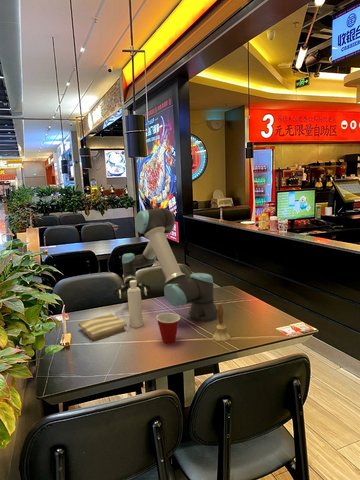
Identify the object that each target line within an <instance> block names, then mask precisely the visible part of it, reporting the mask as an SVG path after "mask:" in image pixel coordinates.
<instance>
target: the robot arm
mask: <svg viewBox="0 0 360 480" xmlns="http://www.w3.org/2000/svg"><path fill="white" fill-rule="evenodd" d="M134 224H135V228H136V231H137V232H138V233H139V234H143V236H144V238H145V239H148V242H147V245H146V247H145V249H144V250H143V252H142V254H137V255H135V253H132V252H129V253H123V255H122V257H121V263H122V270H123V271H122V272H123V283H124V285H122V284H119V285H118V286H117V287H116V288H115V289H113V295H114V296H115V295H117V296H118V297H119V299H122V294H123V293H125V292H126V293H127V290H128V289H129V288H131V287H130V281H131V280H136V281H137V287H138V288H140V290H141V291H142V292H143V293H144V295H145V296H148V293H149V291H152V290H151V289H152V288H151V285H149V284H146V283H144V282H141V283H138V280H137V273H136V271H137V268H141V267H142V268H143V267H147V266H151V265H154V264H156V262H157V261H158V264H159V266H160V268H161V271H162V272H163V276H164V278H165V281H164V285H165V286H164V288H163V292H164V293H163V294H164V295H163V296H164V298H165V300H166V301H167V303H169V304H170V305H171V306H173V307H180V306H184V305H187V304H190V303H191V305H190V309H189V312H188V317H189V319H190V320H192V321H194V322H200V323H201V322H202V323H203V322H211V321H214V320H216V319H217V318H219V316H218V312H217V309H218V308H217V307H216V304H215V301H214V299H215V297H214V294H215V293H214V279H213V276H212V274H209V273H205V272H194V273H191V274H190V276H189V277H190V278H189V277H188V276H187V274H185V273H183V272H182V270H181V268H180V266H179V264H178V262H177V259H176V256H175V255H174V253H173V249H172V248H171V246H170V244H169V241H168V239H167V237H168V235H169V234H170V233H171V232H172V231H173V229H175V228H174V227H175V225H176V218H175V215H174V213H173V212H172V211H171V210H169V209H168V208H163V207H162V208H161V207H160V208H153V209H152V208H151V209H144V210H140V211H139V212H138V213H137V214H136V216H135V223H134Z"/></svg>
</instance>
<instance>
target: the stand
mask: <svg viewBox="0 0 360 480" xmlns="http://www.w3.org/2000/svg"><path fill="white" fill-rule="evenodd" d="M77 325H78V327H79V328H80V329H81V331H82V332H83V334H85V335H86V336H88V337H89V338H90V339H92V341H97V340H101V339H104V338H107V337H110V336H113V335H117V334H119V333H122V332H125V327H127V326H128V323H127V322H126V321H124V320H123V319H121V318H119V317H117V316H116V315H114V314H113V313H112V312H111V313H107V314H104V315H100V316H97V317H94V318H90V319H87V320H83V321H79V322H77Z"/></svg>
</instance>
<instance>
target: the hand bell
mask: <svg viewBox="0 0 360 480" xmlns="http://www.w3.org/2000/svg"><path fill="white" fill-rule="evenodd" d="M216 309H217V312H218V323H219V324H217V325H216V327H215V333H214V334H213V335H212V340H213V341H216V342H227V341H229V340H231V337H232V336H231V335H230V333H228V330H227V326H226V325H225V324H224V321H223V317H224V308H223V305H222V304H221V303H219V304H218V305H217V308H216Z"/></svg>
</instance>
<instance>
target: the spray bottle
mask: <svg viewBox="0 0 360 480" xmlns="http://www.w3.org/2000/svg"><path fill="white" fill-rule="evenodd" d="M136 280H137V279H136ZM136 280H131V281H130V287H131V288H129V289H128V290H127V292H126V293H127V302H128V314H129V315H128V316H129V326H130V328H134V329H136V328H140V327H142V326H144V315H143V305H142V293H141V291H142V290H140V288H138V287H137V283H138V280H137V281H136Z"/></svg>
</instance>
